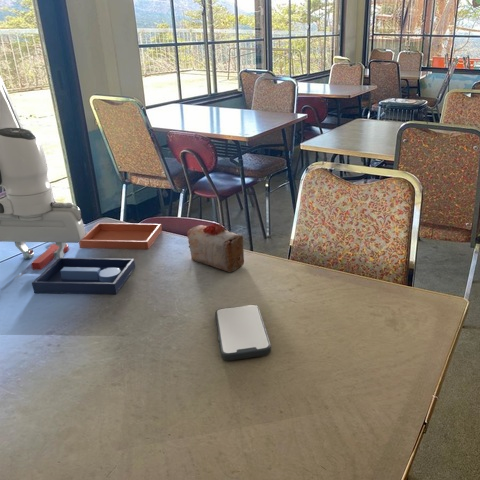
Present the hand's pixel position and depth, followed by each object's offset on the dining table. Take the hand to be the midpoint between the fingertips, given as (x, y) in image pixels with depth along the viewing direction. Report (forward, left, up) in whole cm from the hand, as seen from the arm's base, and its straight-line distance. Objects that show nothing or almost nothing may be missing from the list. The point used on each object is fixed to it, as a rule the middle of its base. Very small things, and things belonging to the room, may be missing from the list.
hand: (44, 257), depth 113 cm
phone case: (+50, -27, -2) cm, 57 cm away
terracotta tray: (+13, +15, -2) cm, 20 cm away
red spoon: (0, +3, -2) cm, 3 cm away
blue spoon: (+14, -7, -1) cm, 16 cm away
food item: (+40, +3, -2) cm, 40 cm away
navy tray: (+13, -7, -2) cm, 15 cm away
